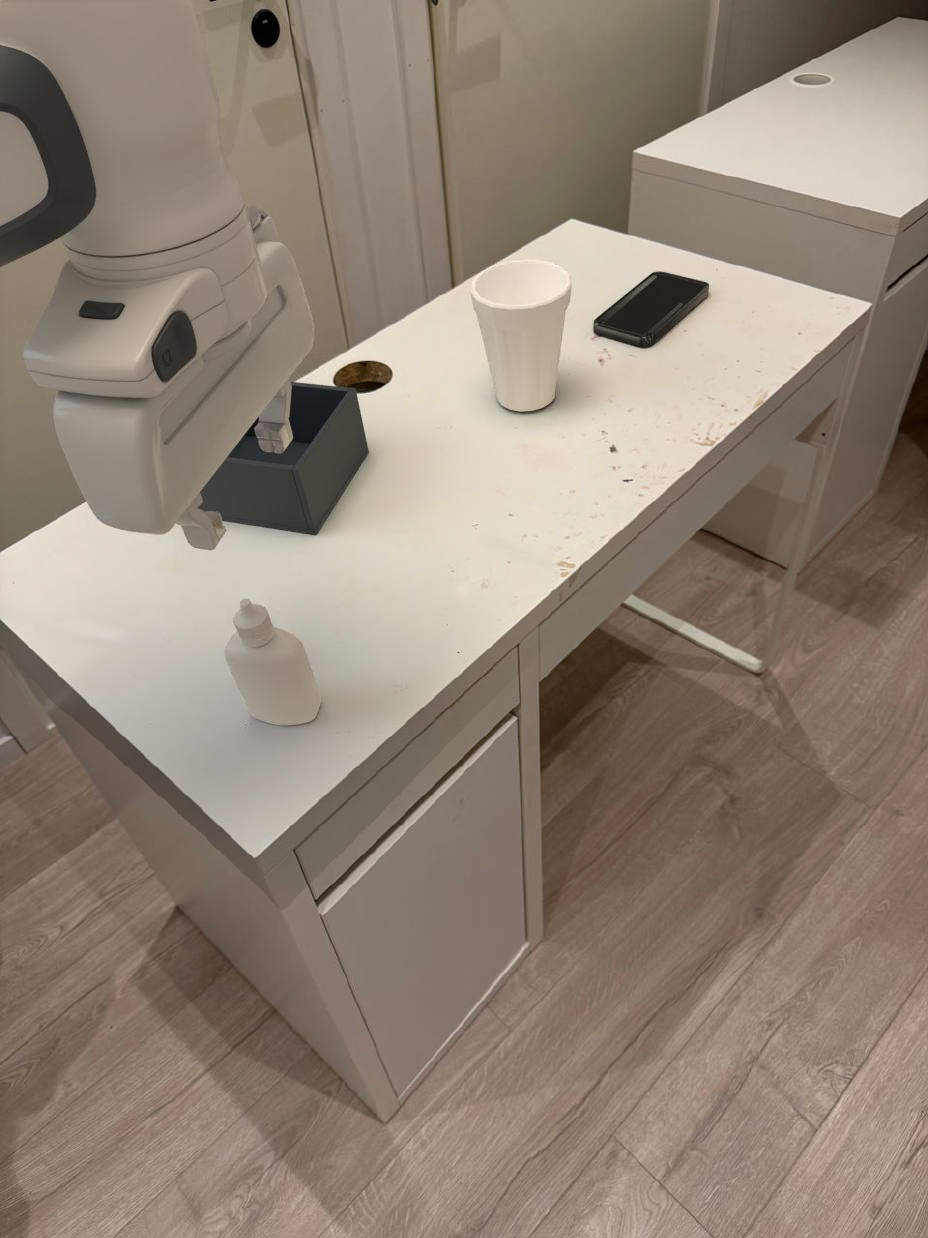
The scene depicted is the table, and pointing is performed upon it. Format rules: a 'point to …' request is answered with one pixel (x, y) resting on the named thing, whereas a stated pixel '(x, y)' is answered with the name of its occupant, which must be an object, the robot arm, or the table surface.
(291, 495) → the bin
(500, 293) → the cup
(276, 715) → the eye dropper bottle
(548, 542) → the table surface
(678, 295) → the phone
